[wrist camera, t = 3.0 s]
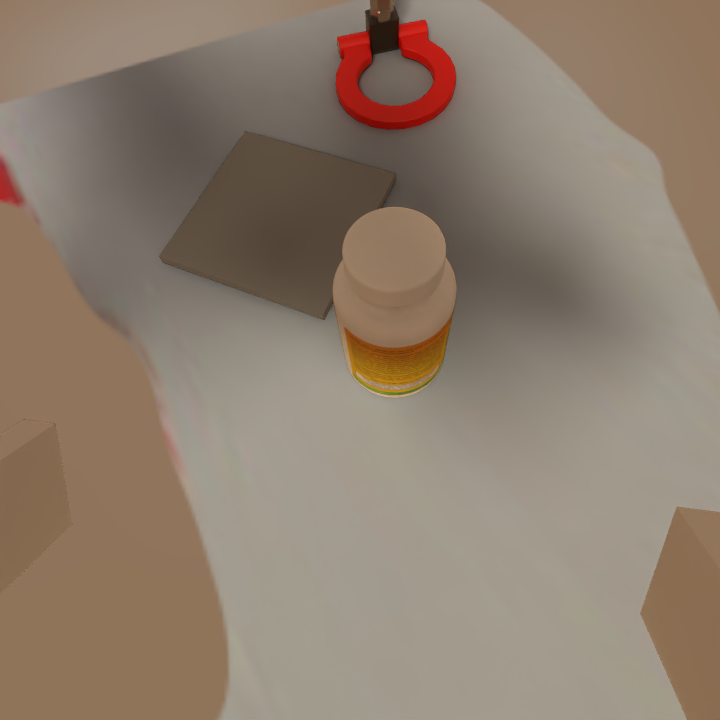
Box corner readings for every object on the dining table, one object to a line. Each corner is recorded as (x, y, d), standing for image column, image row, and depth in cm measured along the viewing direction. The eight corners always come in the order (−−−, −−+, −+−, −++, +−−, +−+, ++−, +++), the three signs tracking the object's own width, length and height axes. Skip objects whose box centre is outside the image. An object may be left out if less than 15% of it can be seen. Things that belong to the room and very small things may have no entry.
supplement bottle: (461, 375, 28) (493, 273, 19) (370, 416, 27) (358, 331, 18) (416, 297, 30) (425, 172, 21) (330, 333, 29) (302, 221, 20)
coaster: (163, 262, 32) (159, 256, 31) (247, 138, 36) (245, 130, 35) (324, 319, 30) (322, 314, 29) (395, 180, 33) (395, 173, 33)
